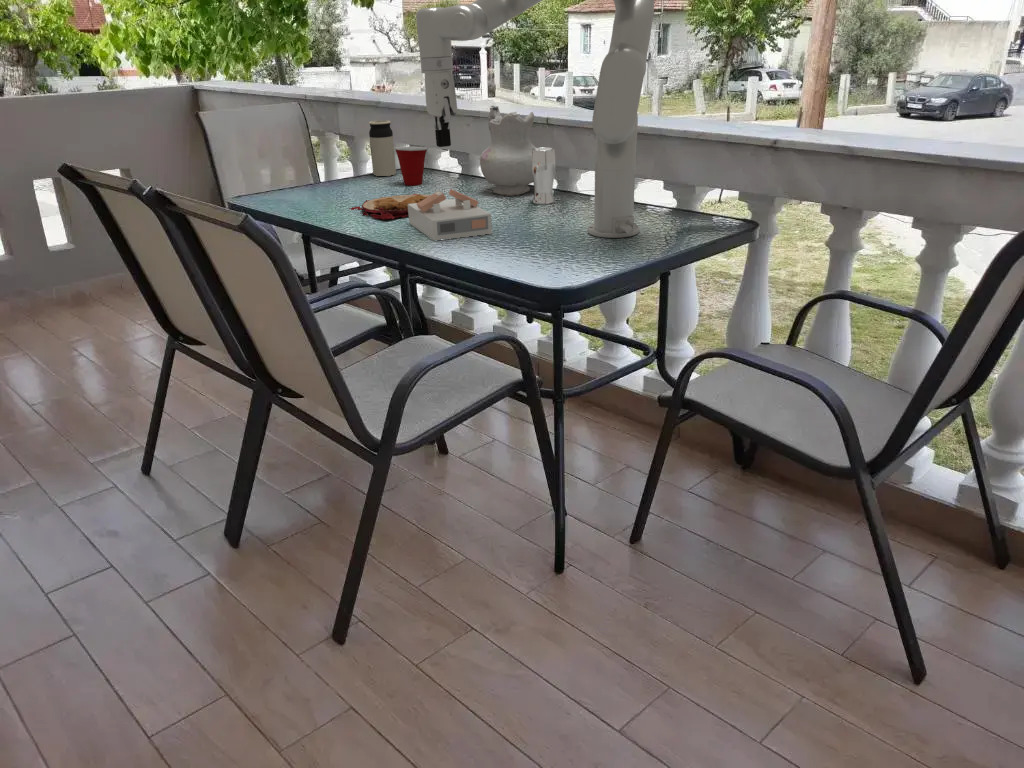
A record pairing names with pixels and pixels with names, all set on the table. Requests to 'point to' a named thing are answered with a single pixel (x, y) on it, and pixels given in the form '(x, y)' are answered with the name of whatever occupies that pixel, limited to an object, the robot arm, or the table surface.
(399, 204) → the plate with food
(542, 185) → the white cylinder
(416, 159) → the plastic cup
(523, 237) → the table surface
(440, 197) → the rocker
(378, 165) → the travel mug
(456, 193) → the rocker
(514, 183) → the ceramic pitcher
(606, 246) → the table surface
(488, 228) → the switch box
